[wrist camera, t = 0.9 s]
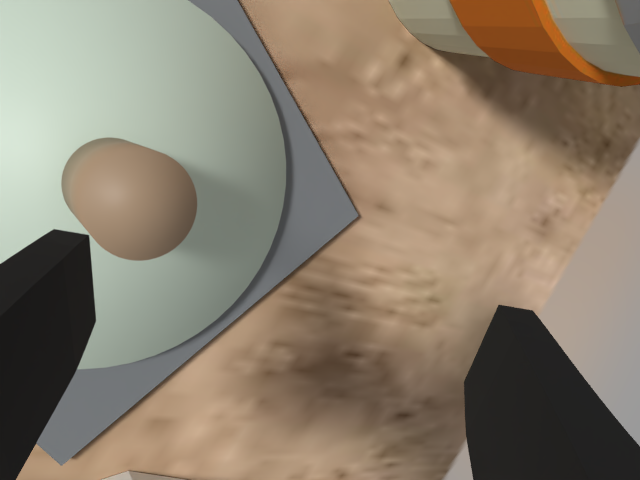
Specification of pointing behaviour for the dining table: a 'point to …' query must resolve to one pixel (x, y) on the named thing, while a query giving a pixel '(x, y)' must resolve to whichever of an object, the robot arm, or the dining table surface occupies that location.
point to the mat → (283, 257)
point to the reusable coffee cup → (535, 34)
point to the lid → (139, 160)
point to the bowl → (139, 476)
